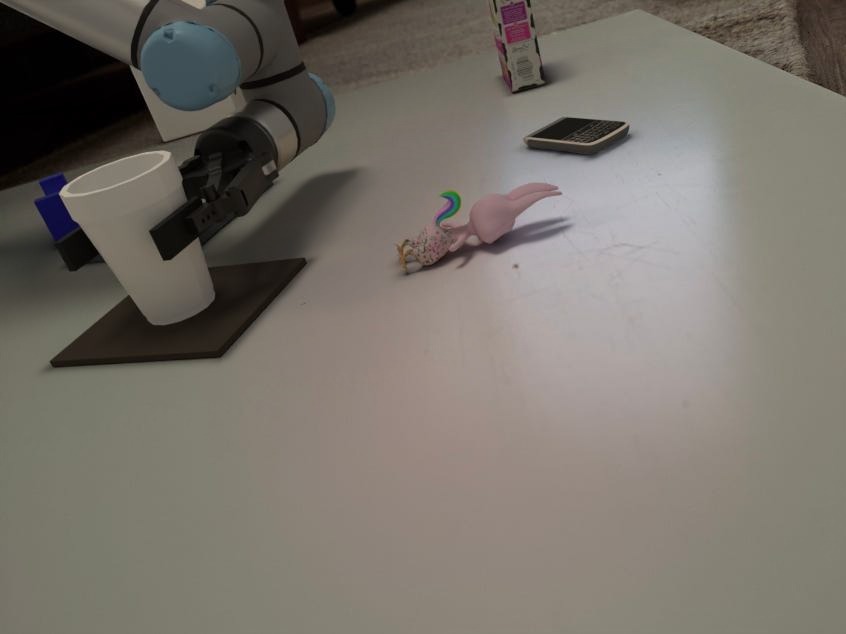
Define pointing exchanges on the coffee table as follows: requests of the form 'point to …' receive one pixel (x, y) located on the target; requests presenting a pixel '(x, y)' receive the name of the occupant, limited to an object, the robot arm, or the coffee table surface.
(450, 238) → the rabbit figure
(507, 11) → the candy bar box
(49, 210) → the cable clip
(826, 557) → the coffee table surface
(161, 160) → the foam cup
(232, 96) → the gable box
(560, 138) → the cell phone
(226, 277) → the mat
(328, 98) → the robot arm
